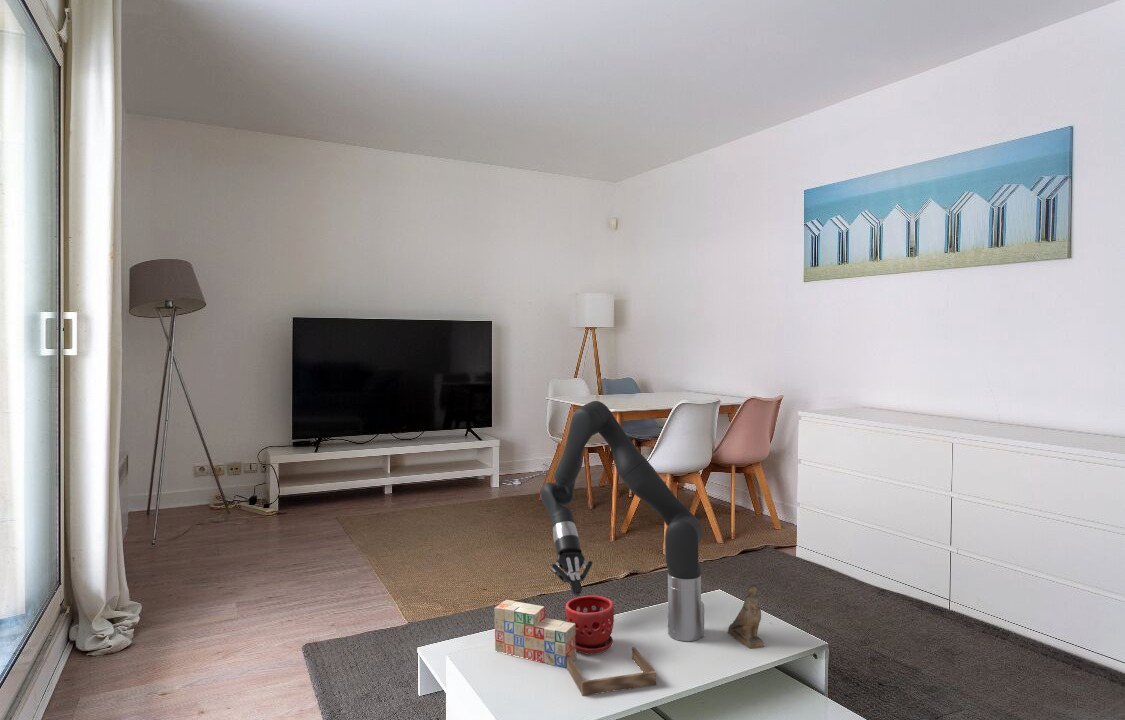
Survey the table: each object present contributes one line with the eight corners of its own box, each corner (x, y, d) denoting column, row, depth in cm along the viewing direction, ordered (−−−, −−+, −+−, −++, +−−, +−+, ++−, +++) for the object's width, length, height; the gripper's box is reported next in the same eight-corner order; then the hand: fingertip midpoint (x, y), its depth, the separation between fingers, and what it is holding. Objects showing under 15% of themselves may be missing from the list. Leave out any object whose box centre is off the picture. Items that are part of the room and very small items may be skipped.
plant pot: (595, 632, 188) (595, 591, 188) (623, 650, 177) (623, 605, 177) (556, 643, 181) (556, 600, 181) (583, 662, 170) (583, 616, 170)
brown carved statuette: (764, 655, 179) (772, 595, 175) (745, 657, 178) (753, 597, 174) (742, 628, 190) (750, 572, 186) (725, 630, 189) (732, 573, 185)
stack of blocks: (576, 658, 173) (575, 611, 173) (565, 669, 167) (565, 620, 167) (506, 642, 183) (506, 598, 182) (494, 652, 177) (493, 606, 177)
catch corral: (634, 658, 173) (634, 646, 173) (656, 684, 159) (656, 672, 159) (566, 667, 168) (566, 655, 168) (582, 695, 154) (582, 682, 154)
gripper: (547, 535, 197) (557, 590, 185) (589, 532, 200) (602, 586, 189) (543, 547, 202) (552, 602, 191) (584, 544, 206) (596, 598, 194)
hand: (577, 594), depth 190 cm, fingers closed
